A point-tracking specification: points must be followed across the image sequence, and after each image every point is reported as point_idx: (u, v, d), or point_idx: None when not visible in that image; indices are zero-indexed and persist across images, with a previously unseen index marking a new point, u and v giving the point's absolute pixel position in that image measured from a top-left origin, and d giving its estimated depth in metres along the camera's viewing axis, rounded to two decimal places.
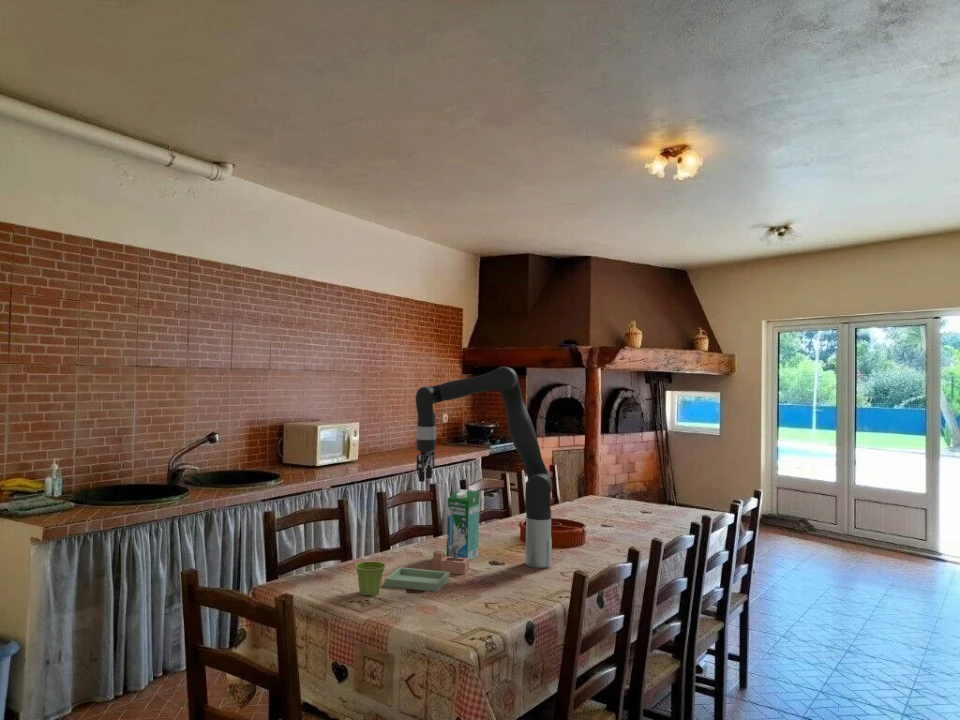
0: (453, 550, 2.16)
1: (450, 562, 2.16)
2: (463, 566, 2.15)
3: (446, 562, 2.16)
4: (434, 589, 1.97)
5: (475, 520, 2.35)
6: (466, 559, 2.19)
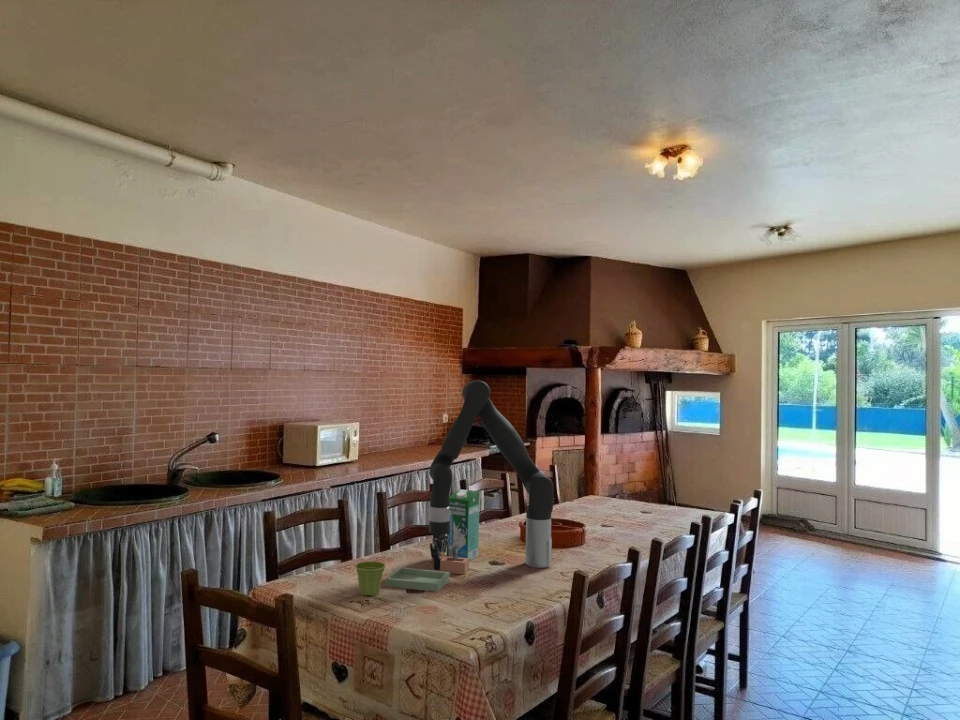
0: (453, 550, 2.16)
1: (450, 562, 2.16)
2: (463, 566, 2.15)
3: (446, 562, 2.16)
4: (434, 589, 1.97)
5: (475, 520, 2.35)
6: (466, 559, 2.19)
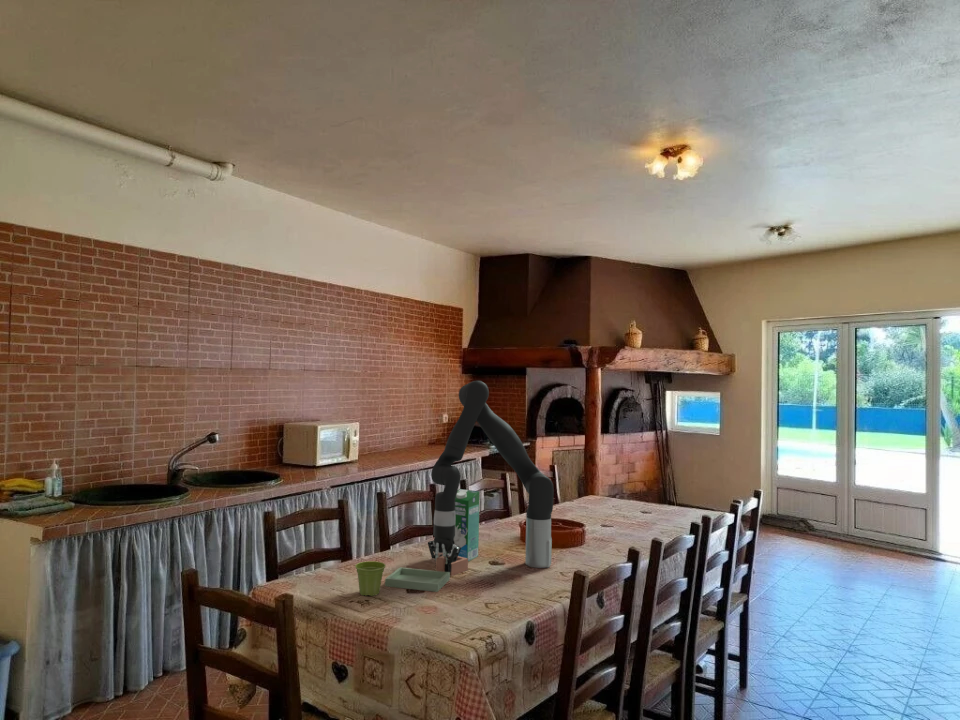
0: None
1: (458, 562, 2.16)
2: (467, 562, 2.20)
3: (455, 564, 2.15)
4: (434, 589, 1.97)
5: (475, 520, 2.35)
6: (458, 556, 2.22)
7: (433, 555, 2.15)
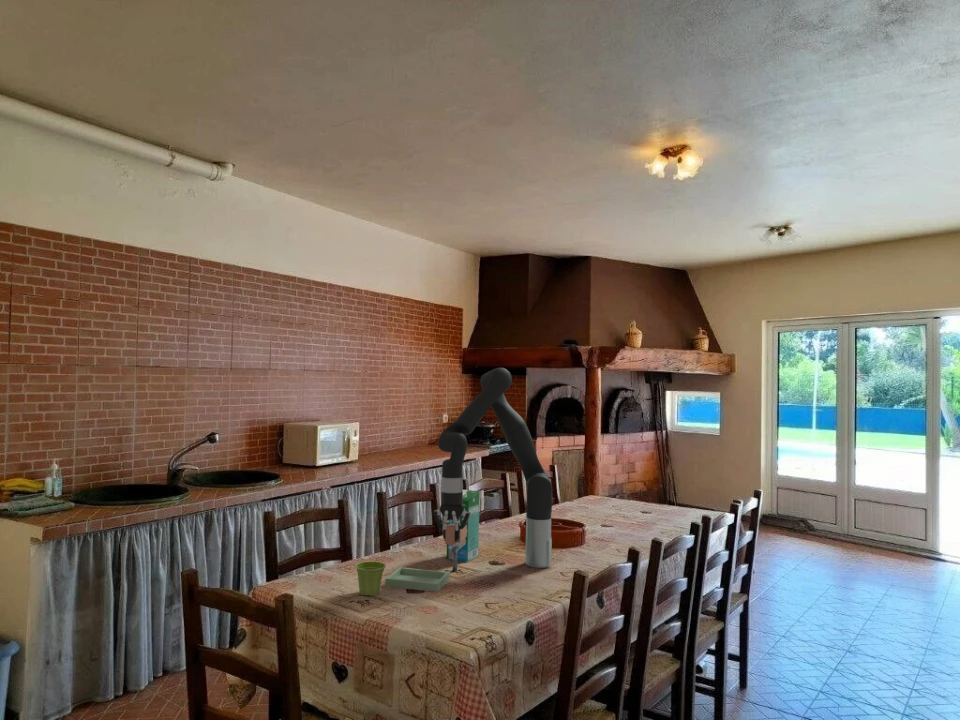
0: (453, 550, 2.16)
1: (462, 529, 2.17)
2: (466, 529, 2.21)
3: (461, 530, 2.15)
4: (434, 589, 1.97)
5: (475, 520, 2.35)
6: None
7: (440, 524, 2.12)
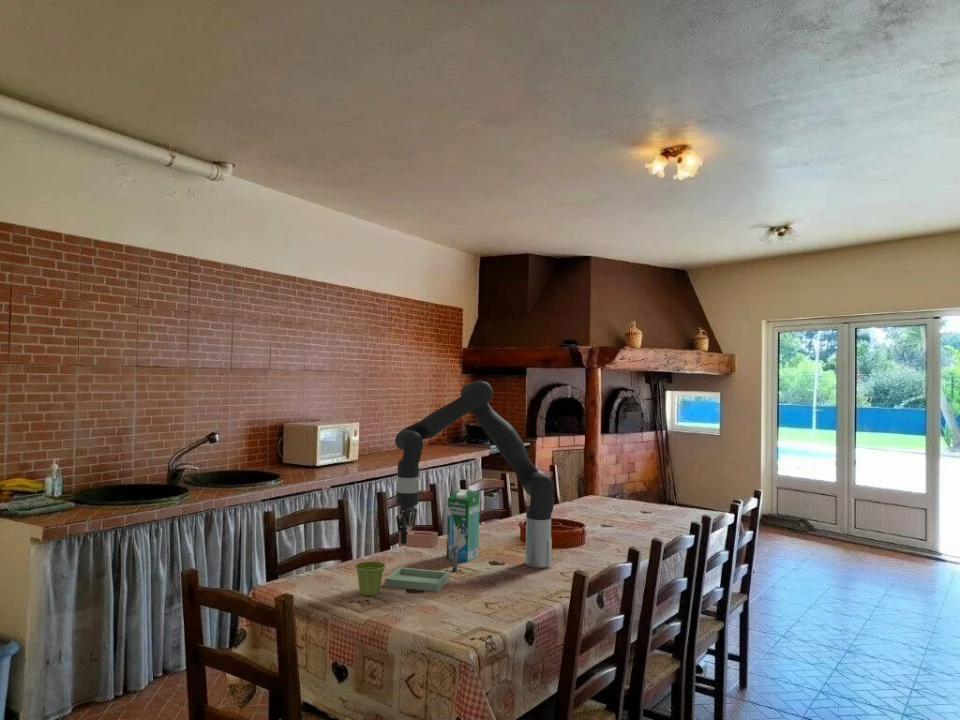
0: (453, 550, 2.16)
1: (416, 536, 2.03)
2: (430, 540, 2.01)
3: (412, 536, 2.03)
4: (434, 589, 1.97)
5: (475, 520, 2.35)
6: (434, 533, 2.06)
7: None
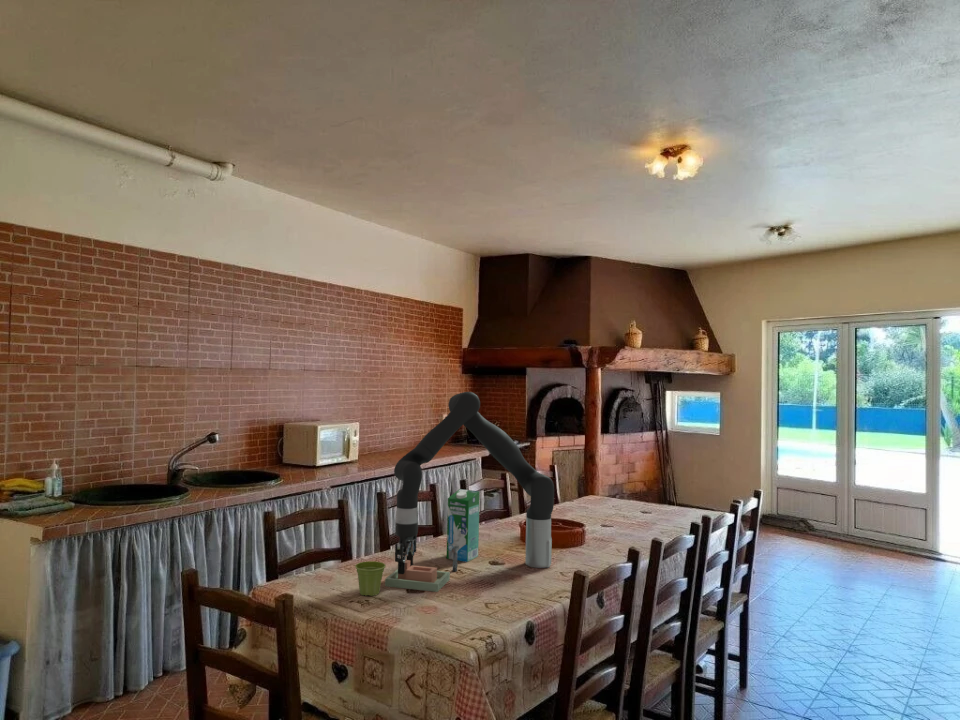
0: (453, 550, 2.16)
1: (416, 572, 2.02)
2: (429, 576, 2.01)
3: (412, 572, 2.03)
4: (434, 589, 1.97)
5: (475, 520, 2.35)
6: (433, 568, 2.05)
7: None
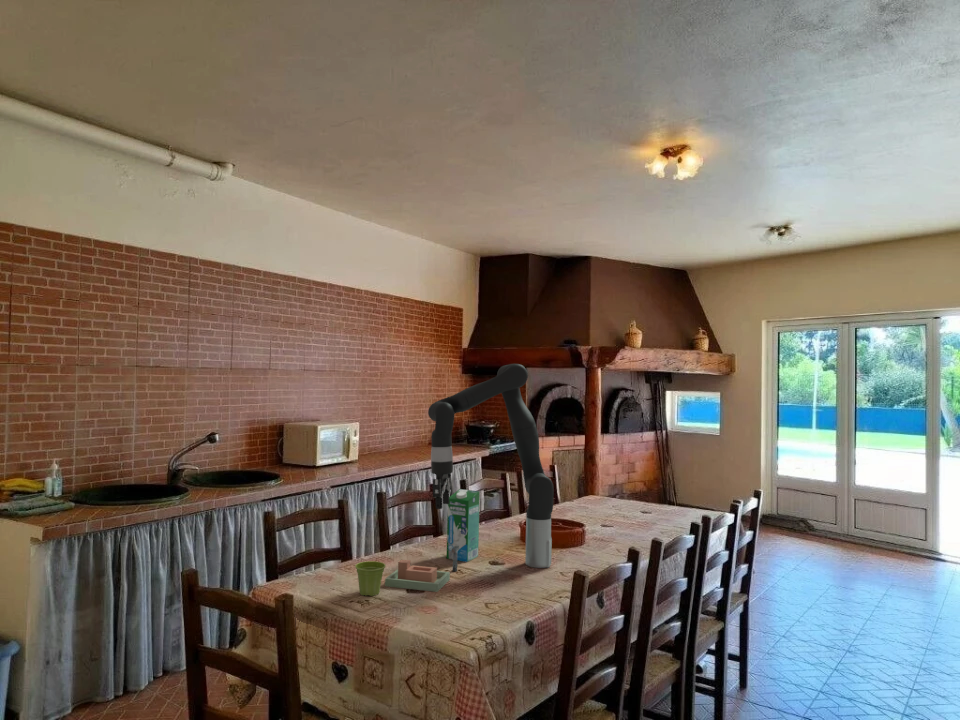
0: (453, 550, 2.16)
1: (416, 572, 2.02)
2: (429, 576, 2.01)
3: (412, 572, 2.03)
4: (434, 589, 1.97)
5: (475, 520, 2.35)
6: (433, 568, 2.05)
7: None
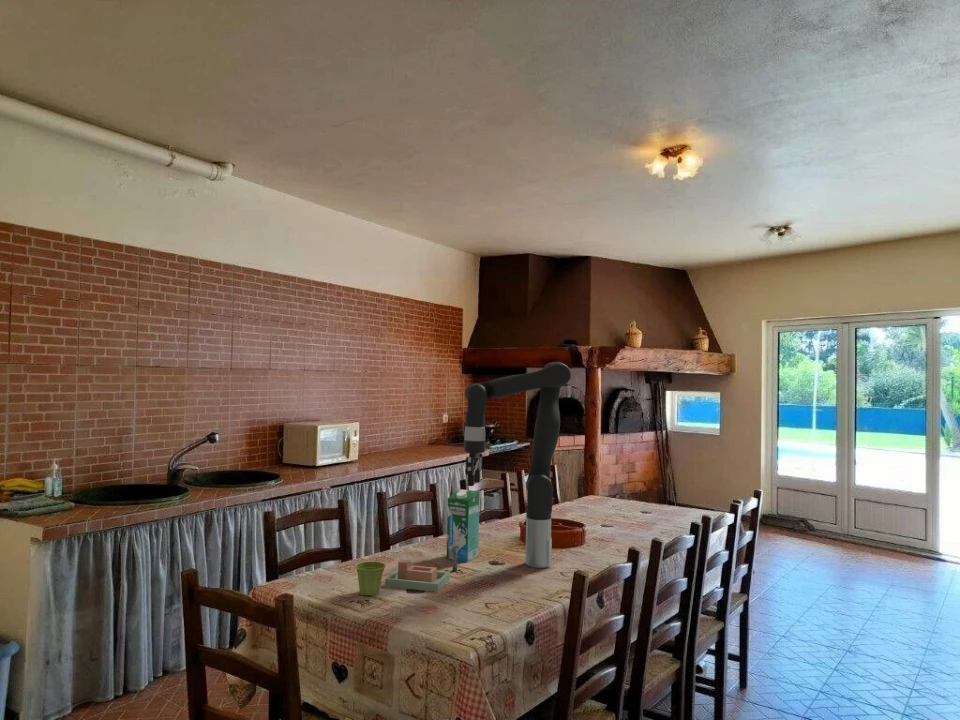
0: (453, 550, 2.16)
1: (416, 572, 2.02)
2: (429, 576, 2.01)
3: (412, 572, 2.03)
4: (434, 589, 1.97)
5: (475, 520, 2.35)
6: (433, 568, 2.05)
7: None
